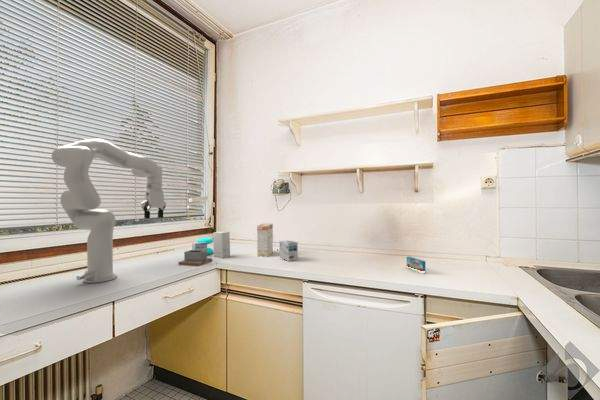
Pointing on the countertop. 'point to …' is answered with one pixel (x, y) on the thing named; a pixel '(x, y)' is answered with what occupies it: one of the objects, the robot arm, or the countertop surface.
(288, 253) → the light bulb box
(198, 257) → the gray open box
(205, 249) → the medicine box
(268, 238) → the coffeecake box
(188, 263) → the keeper board
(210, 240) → the donuts
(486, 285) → the countertop surface
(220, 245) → the skincare box
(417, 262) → the teal flat box
